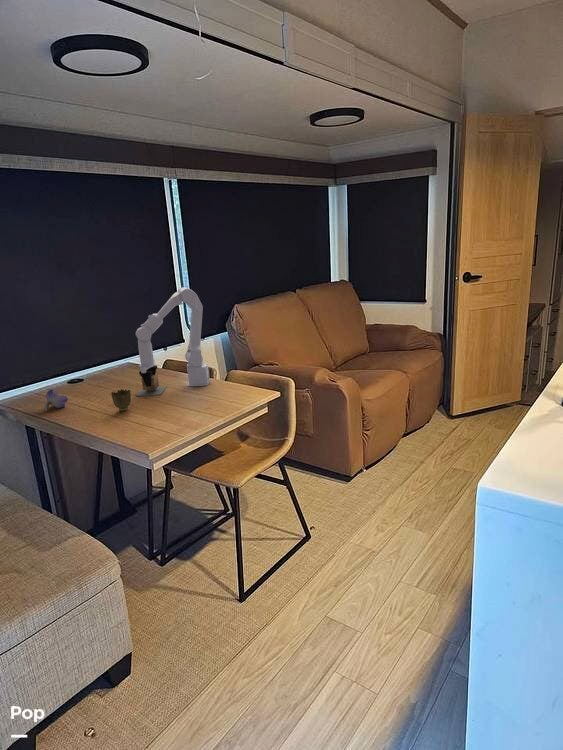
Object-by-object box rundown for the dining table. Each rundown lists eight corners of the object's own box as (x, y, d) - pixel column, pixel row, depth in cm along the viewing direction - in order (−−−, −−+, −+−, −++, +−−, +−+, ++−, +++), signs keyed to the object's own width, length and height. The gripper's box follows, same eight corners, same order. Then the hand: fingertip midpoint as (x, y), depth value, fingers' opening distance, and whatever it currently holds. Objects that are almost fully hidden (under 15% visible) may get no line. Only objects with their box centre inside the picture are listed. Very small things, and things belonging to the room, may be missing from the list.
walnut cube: (159, 386, 217) (157, 374, 216) (155, 389, 212) (153, 377, 210) (147, 386, 217) (145, 375, 216) (143, 390, 212) (141, 378, 211)
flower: (47, 399, 192) (57, 382, 200) (34, 406, 196) (44, 389, 203) (65, 413, 197) (75, 396, 205) (52, 419, 201) (62, 402, 208)
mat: (166, 387, 220) (166, 386, 220) (160, 395, 210) (160, 394, 210) (143, 388, 221) (143, 387, 220) (135, 396, 210) (135, 395, 210)
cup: (128, 406, 198) (125, 387, 196) (136, 409, 193) (133, 391, 191) (110, 411, 193) (107, 392, 191) (119, 415, 188) (116, 396, 186)
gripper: (142, 351, 217) (146, 379, 221) (132, 359, 203) (136, 389, 207) (157, 350, 217) (161, 378, 221) (148, 358, 203) (152, 388, 207)
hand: (150, 384), depth 214 cm, fingers closed on walnut cube, 6 cm apart
